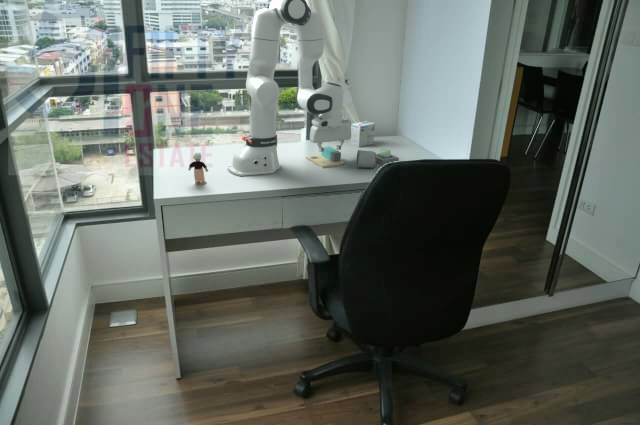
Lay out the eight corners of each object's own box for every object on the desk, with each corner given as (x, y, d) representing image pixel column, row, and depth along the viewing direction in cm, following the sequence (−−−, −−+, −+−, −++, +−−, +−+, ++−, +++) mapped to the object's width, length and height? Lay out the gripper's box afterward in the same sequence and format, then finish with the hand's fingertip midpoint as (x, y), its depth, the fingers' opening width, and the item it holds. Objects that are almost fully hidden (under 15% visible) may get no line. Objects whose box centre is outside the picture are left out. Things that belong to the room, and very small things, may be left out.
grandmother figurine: (209, 181, 201) (207, 150, 196) (208, 184, 197) (207, 153, 192) (189, 181, 200) (187, 151, 194) (188, 185, 196) (186, 154, 191)
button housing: (382, 166, 224) (383, 160, 223) (370, 160, 231) (371, 154, 230) (398, 163, 228) (398, 157, 227) (386, 158, 235) (386, 152, 234)
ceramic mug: (376, 170, 220) (377, 153, 217) (357, 169, 219) (358, 152, 216) (372, 162, 229) (374, 146, 226) (354, 162, 229) (355, 146, 226)
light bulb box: (365, 140, 261) (366, 120, 257) (374, 143, 257) (375, 123, 252) (349, 144, 255) (350, 123, 251) (358, 147, 250) (360, 126, 246)
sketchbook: (322, 168, 220) (322, 165, 219) (305, 158, 231) (305, 156, 231) (343, 164, 225) (343, 162, 224) (326, 155, 237) (326, 153, 236)
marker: (321, 155, 232) (322, 147, 231) (329, 154, 234) (329, 146, 233) (333, 162, 225) (333, 153, 223) (340, 160, 226) (341, 152, 225)
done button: (383, 160, 226) (384, 152, 224) (377, 157, 229) (377, 150, 228) (392, 159, 228) (392, 151, 227) (385, 156, 232) (386, 148, 230)
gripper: (347, 116, 230) (345, 146, 235) (308, 120, 220) (307, 150, 225) (355, 120, 225) (352, 149, 230) (316, 123, 215) (314, 154, 220)
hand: (330, 150), depth 228 cm, fingers open, 8 cm apart
